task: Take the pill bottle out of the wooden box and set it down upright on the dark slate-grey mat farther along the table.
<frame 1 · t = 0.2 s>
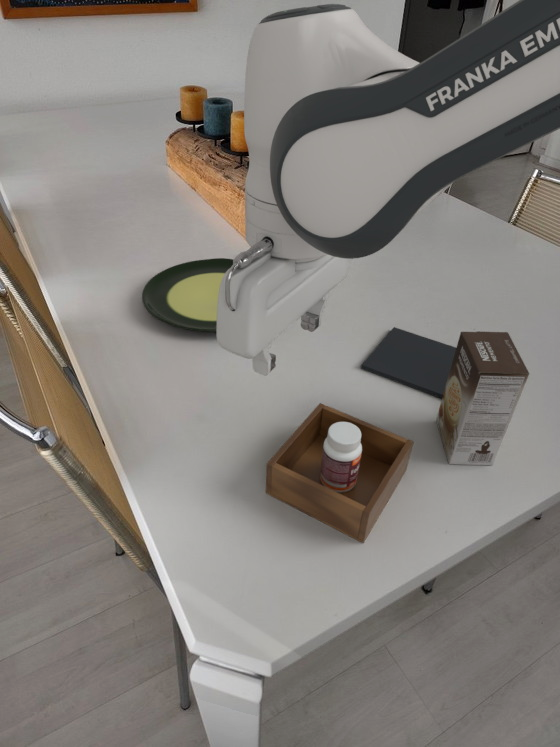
hand: (288, 347, 57), 21 cm above the table, tool pointing down, fingers open, 8 cm apart
wooden box: (337, 481, 71), on the table
coffee box: (462, 443, 77), on the table
pill bottle: (338, 480, 70), resting on wooden box
bottle: (345, 210, 147), on the table
plate: (216, 302, 106), on the table
mat: (432, 367, 91), on the table
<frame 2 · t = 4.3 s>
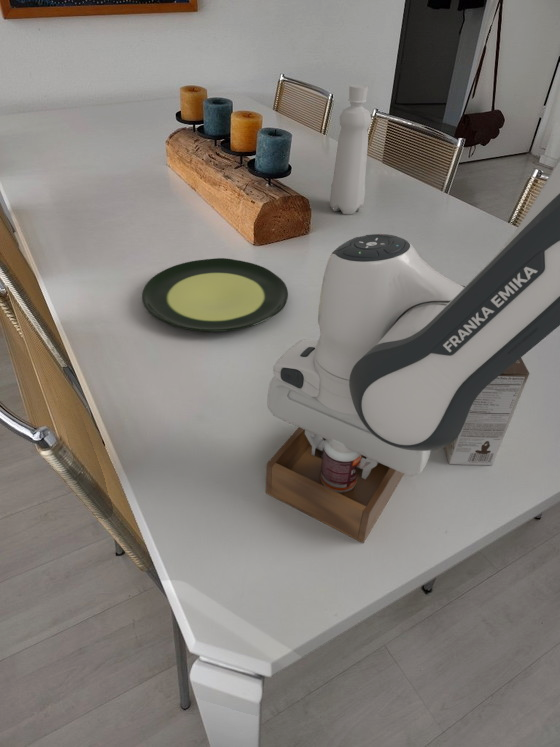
hand: (340, 463, 69), 3 cm above the table, tool pointing down, fingers closed on pill bottle, 5 cm apart
pill bottle: (338, 480, 70), resting on wooden box, touching gripper
everything else where it was.
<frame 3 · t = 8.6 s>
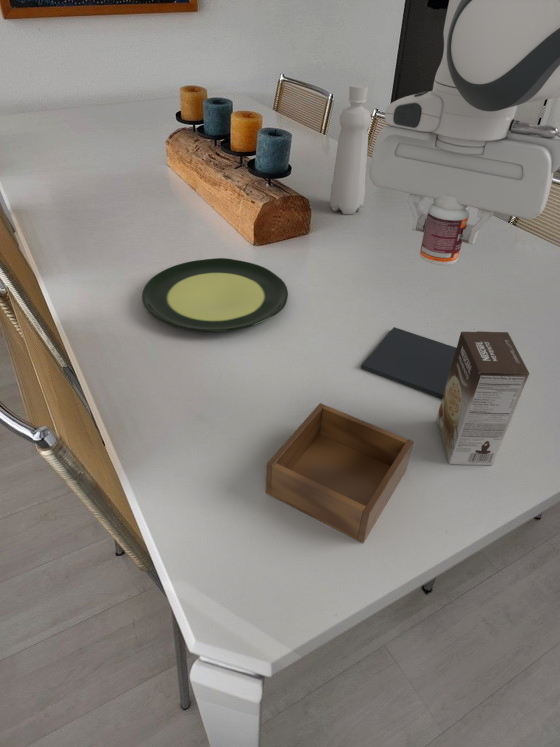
hand: (442, 235, 67), 27 cm above the table, tool pointing down, fingers closed on pill bottle, 5 cm apart
pill bottle: (437, 259, 68), point 24 cm above the table, touching gripper
everything else where it was.
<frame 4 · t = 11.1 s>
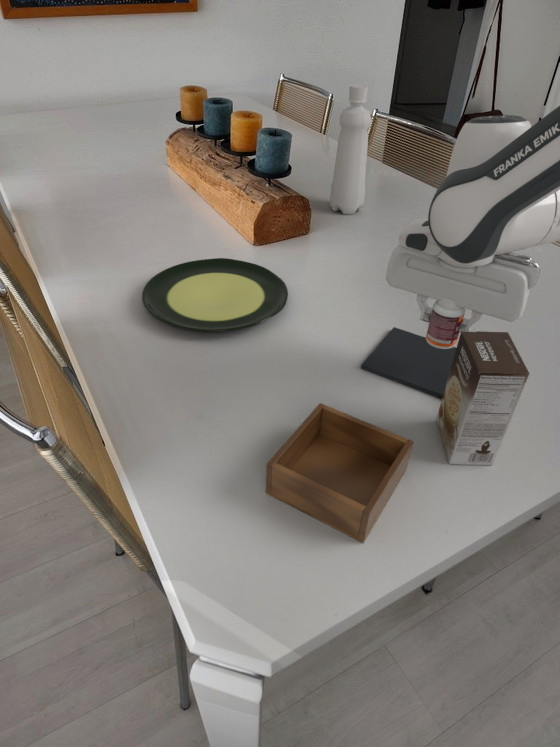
hand: (444, 325, 83), 10 cm above the table, tool pointing down, fingers closed on pill bottle, 5 cm apart
pill bottle: (440, 342, 85), point 7 cm above the table, touching gripper
everything else where it was.
when the fingers open (4 cm above the table, at t = 13.0 s): pill bottle stays where it is, resting on mat.
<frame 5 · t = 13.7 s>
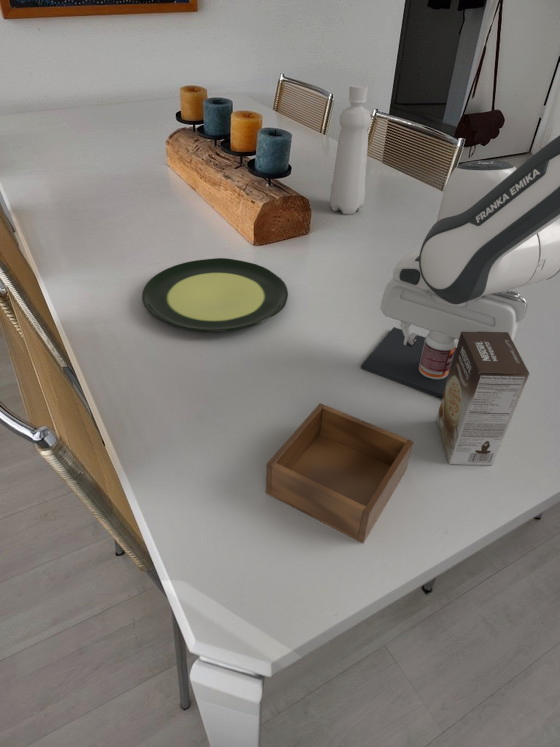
hand: (437, 353, 87), 4 cm above the table, tool pointing down, fingers open, 8 cm apart
pill bottle: (432, 372, 89), point 1 cm above the table, touching mat
everything else where it was.
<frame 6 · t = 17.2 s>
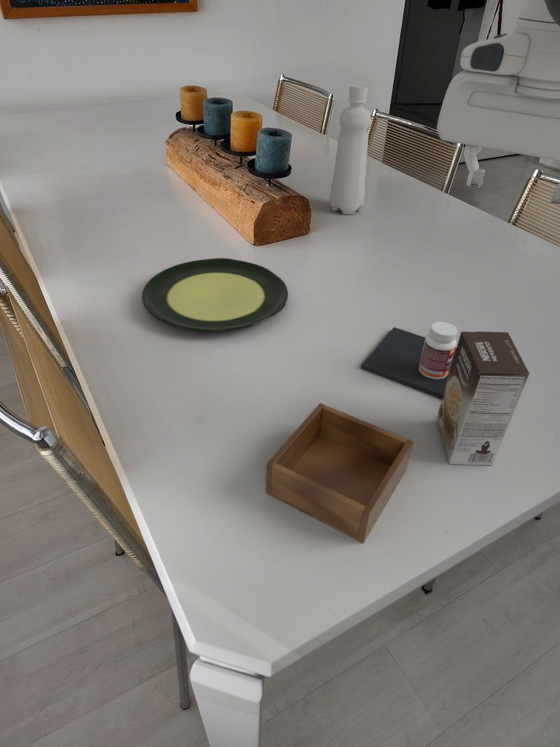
hand: (514, 194, 62), 33 cm above the table, tool pointing down, fingers open, 8 cm apart
nothing on the table moved.
at the end: pill bottle inside the target area on the mat (2.1 cm from its centre), point 0.6 cm above the mat's base; pill bottle tilted 0°; the gripper is holding nothing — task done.
